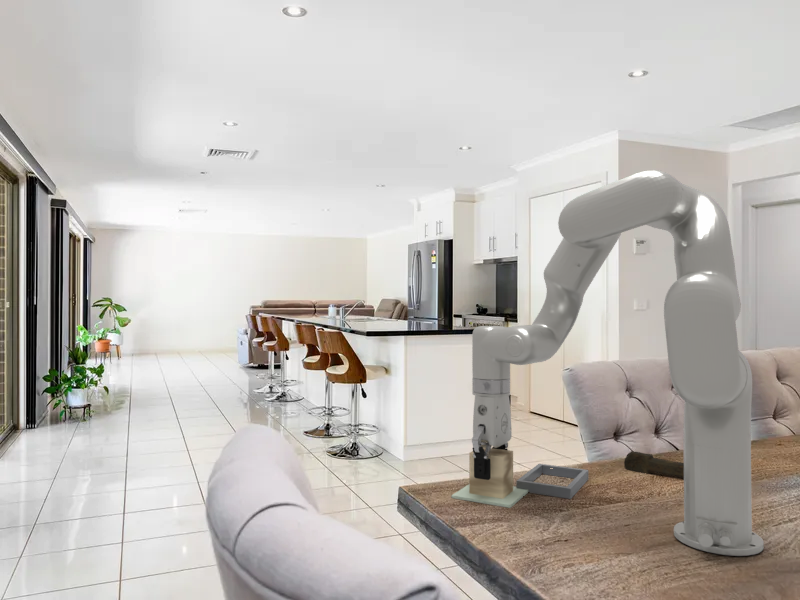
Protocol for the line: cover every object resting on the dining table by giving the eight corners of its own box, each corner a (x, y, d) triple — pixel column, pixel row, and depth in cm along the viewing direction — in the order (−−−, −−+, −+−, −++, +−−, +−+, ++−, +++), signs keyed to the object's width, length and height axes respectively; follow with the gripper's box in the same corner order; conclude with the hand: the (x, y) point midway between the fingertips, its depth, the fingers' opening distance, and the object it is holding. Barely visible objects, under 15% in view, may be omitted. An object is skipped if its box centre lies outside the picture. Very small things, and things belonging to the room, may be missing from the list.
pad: (510, 507, 110) (510, 505, 110) (451, 497, 116) (451, 495, 116) (529, 491, 120) (529, 488, 120) (474, 482, 126) (475, 480, 126)
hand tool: (717, 482, 128) (717, 461, 128) (712, 486, 125) (712, 464, 125) (628, 468, 140) (628, 448, 140) (622, 471, 137) (622, 451, 137)
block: (503, 498, 114) (502, 457, 114) (469, 493, 117) (469, 452, 117) (513, 490, 119) (513, 450, 119) (480, 485, 123) (480, 446, 123)
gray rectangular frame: (570, 499, 115) (570, 488, 115) (516, 490, 121) (516, 480, 121) (588, 479, 129) (588, 469, 129) (538, 472, 135) (538, 463, 135)
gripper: (493, 393, 109) (493, 486, 109) (522, 383, 124) (523, 465, 124) (456, 390, 113) (456, 480, 113) (489, 381, 128) (489, 461, 128)
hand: (491, 472), depth 118 cm, fingers open, 9 cm apart
